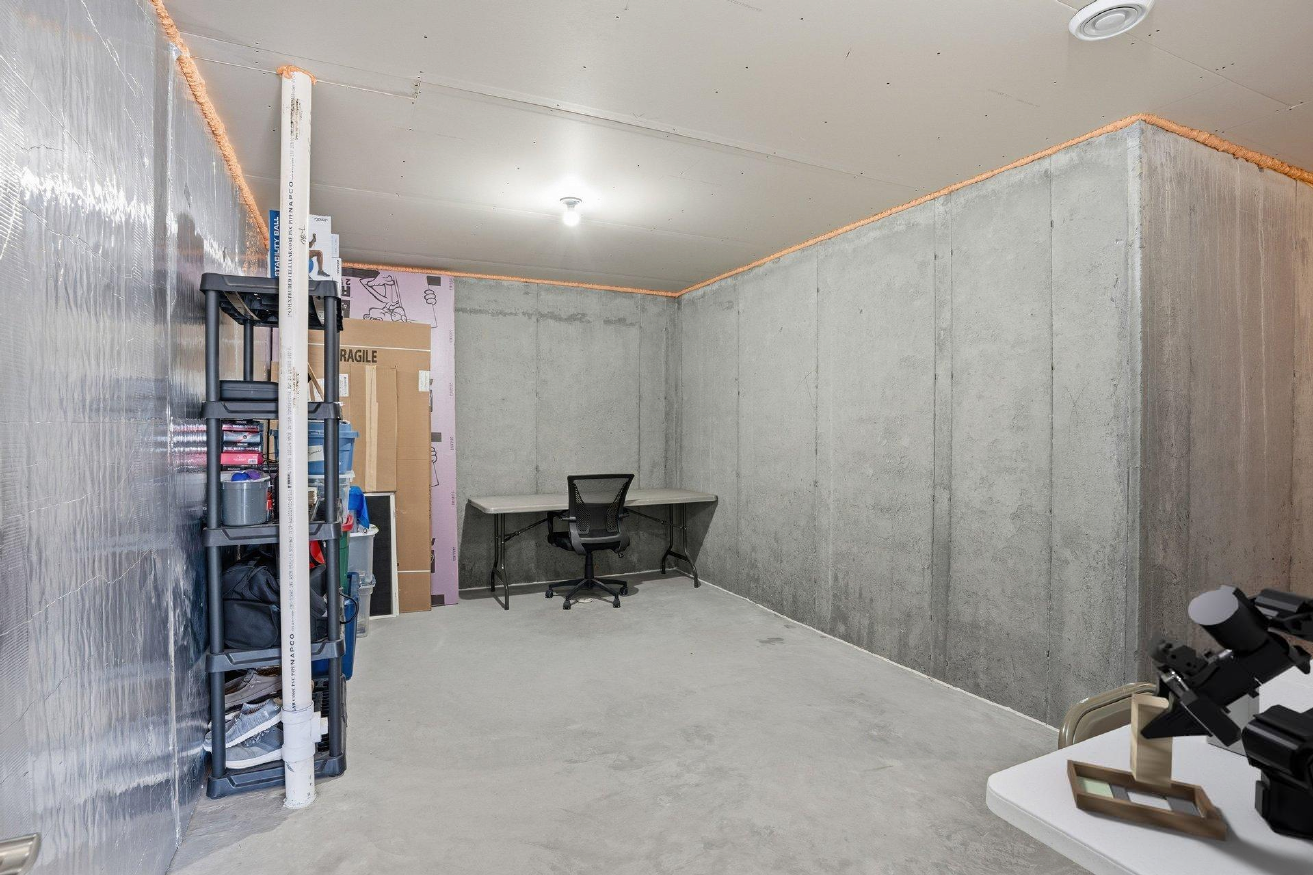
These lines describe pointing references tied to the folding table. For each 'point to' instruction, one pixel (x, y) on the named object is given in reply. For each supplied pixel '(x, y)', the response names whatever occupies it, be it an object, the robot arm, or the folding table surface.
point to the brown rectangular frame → (1197, 825)
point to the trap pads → (1173, 801)
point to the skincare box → (1239, 720)
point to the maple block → (1149, 743)
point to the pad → (1094, 786)
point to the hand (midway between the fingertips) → (1139, 729)
